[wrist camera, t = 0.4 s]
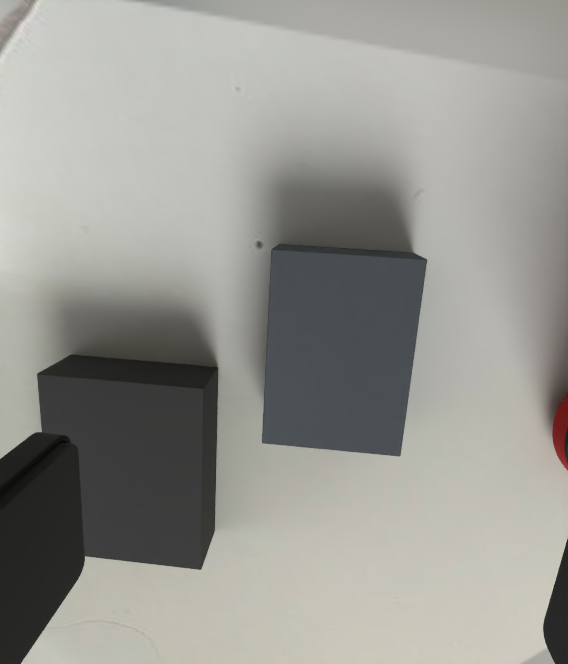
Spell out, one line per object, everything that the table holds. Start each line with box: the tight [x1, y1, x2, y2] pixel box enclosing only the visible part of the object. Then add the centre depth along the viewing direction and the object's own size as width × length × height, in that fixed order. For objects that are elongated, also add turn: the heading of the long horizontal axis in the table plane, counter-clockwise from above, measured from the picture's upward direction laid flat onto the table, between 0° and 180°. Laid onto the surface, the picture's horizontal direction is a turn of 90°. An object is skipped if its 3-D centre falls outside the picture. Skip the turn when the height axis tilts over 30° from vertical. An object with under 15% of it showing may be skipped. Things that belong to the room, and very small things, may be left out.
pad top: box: [262, 244, 427, 456], centre depth 22 cm, size 9×6×3 cm
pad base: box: [37, 355, 218, 570], centre depth 24 cm, size 10×8×3 cm
